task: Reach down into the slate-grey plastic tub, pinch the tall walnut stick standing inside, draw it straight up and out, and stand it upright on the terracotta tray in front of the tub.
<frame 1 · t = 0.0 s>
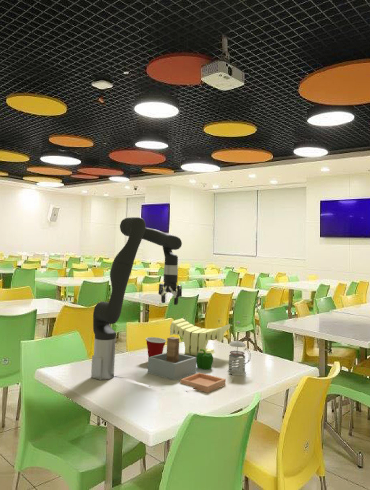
hand: (169, 303, 219), 29 cm above the table, tool pointing down, fingers open, 8 cm apart
plastic cup: (155, 362, 210), on the table
french press: (238, 373, 197), on the table
slatted curved stool: (199, 354, 231), on the table
grey tub: (171, 374, 190), on the table
terracotta tray: (203, 385, 176), on the table
bell pepper: (204, 370, 200), on the table
walnut stick: (171, 372, 190), point 1 cm above the table, touching grey tub
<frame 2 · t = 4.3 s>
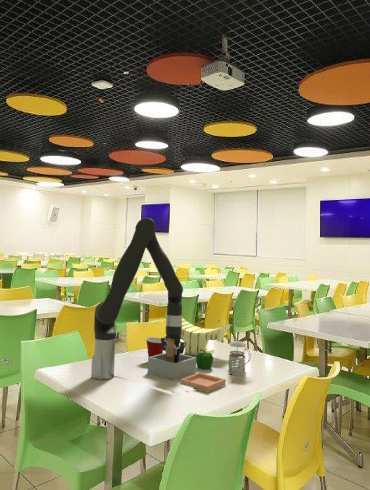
hand: (172, 361, 190), 6 cm above the table, tool pointing down, fingers closed on walnut stick, 4 cm apart
walnut stick: (171, 372, 190), point 1 cm above the table, touching grey tub, gripper
everything else where it was.
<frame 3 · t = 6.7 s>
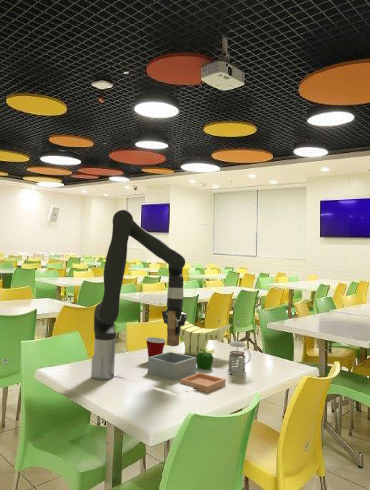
hand: (173, 333, 190), 19 cm above the table, tool pointing down, fingers closed on walnut stick, 4 cm apart
walnut stick: (172, 345, 190), point 14 cm above the table, touching gripper
everything else where it was.
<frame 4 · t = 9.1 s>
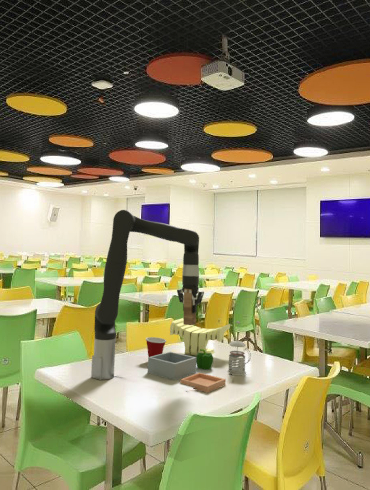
hand: (189, 312, 184), 30 cm above the table, tool pointing down, fingers closed on walnut stick, 4 cm apart
walnut stick: (189, 324, 184), point 25 cm above the table, touching gripper
everything else where it was.
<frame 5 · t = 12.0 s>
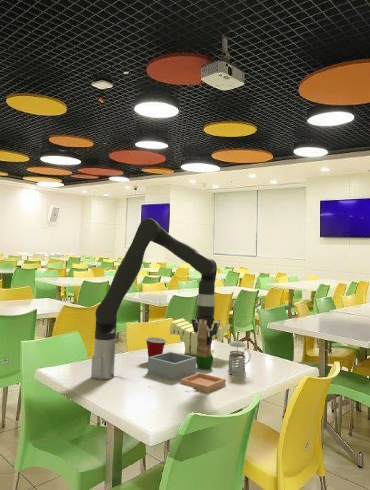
hand: (204, 343, 177), 18 cm above the table, tool pointing down, fingers closed on walnut stick, 4 cm apart
walnut stick: (204, 355, 177), point 13 cm above the table, touching gripper
everything else where it was.
when the fingers open (8 cm above the table, at t = 14.3 s): walnut stick drops 1 cm, resting on terracotta tray.
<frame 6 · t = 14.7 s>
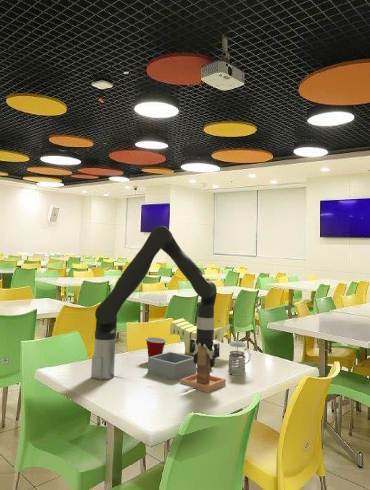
hand: (203, 365, 177), 9 cm above the table, tool pointing down, fingers open, 8 cm apart
walnut stick: (203, 382, 177), point 1 cm above the table, touching terracotta tray
everything else where it was.
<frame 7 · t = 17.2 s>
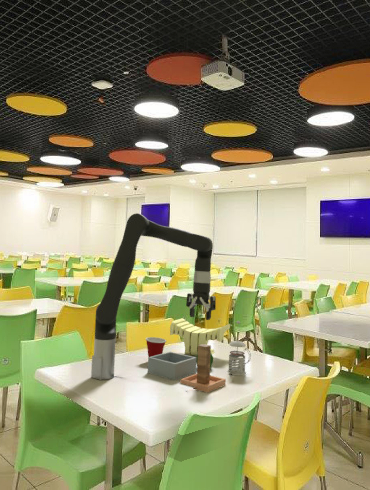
hand: (199, 318, 179), 28 cm above the table, tool pointing down, fingers open, 8 cm apart
nothing on the table moved.
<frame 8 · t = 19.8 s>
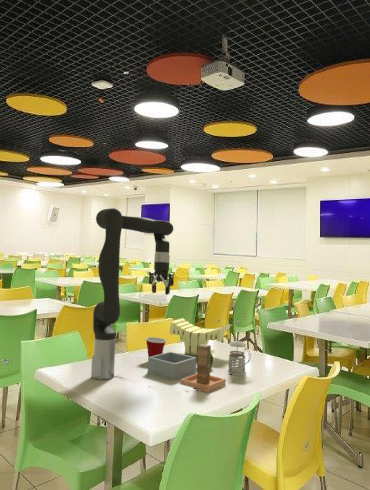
hand: (160, 293, 204), 36 cm above the table, tool pointing down, fingers open, 8 cm apart
nothing on the table moved.
at the end: walnut stick inside the target area on the terracotta tray (0.1 cm from its centre), point 1.0 cm above the terracotta tray's base; walnut stick tilted 0°; the gripper is holding nothing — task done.
